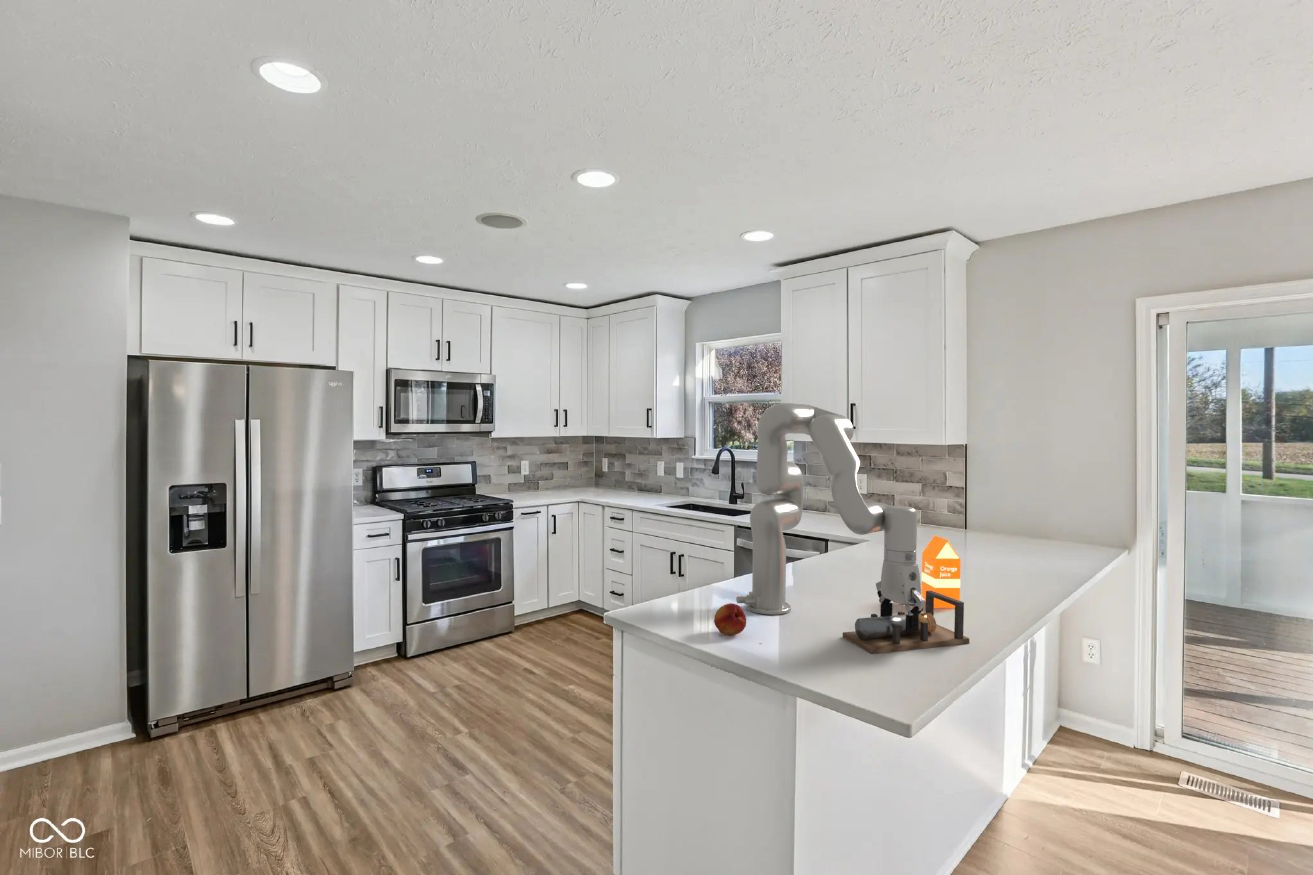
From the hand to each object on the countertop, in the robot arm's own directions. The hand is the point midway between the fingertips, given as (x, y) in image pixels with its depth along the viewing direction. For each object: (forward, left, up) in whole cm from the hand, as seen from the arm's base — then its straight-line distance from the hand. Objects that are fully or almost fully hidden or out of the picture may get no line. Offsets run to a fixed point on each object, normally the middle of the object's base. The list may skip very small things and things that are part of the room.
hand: (898, 624), depth 157 cm
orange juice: (+34, +25, -4) cm, 42 cm away
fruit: (-39, +15, -4) cm, 42 cm away
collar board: (+2, 0, -4) cm, 4 cm away
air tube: (-1, +1, -3) cm, 3 cm away
